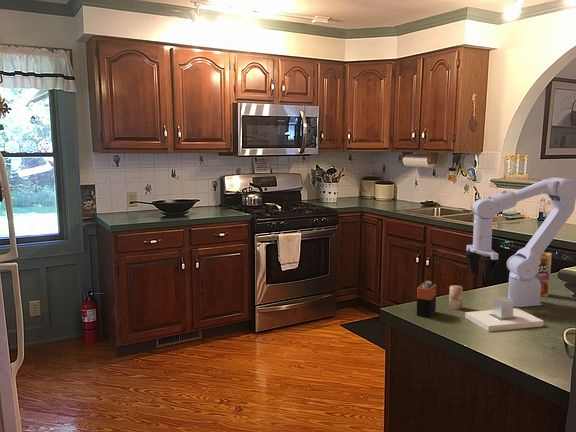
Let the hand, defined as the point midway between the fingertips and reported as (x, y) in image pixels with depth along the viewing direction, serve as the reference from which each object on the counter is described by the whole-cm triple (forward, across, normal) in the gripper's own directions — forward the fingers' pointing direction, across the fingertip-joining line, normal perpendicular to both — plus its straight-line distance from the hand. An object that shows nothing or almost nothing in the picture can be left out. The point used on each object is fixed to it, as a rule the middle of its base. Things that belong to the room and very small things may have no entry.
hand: (480, 276), depth 164 cm
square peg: (+9, +17, -4) cm, 20 cm away
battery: (+10, +5, -22) cm, 25 cm away
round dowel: (+9, +2, -10) cm, 14 cm away
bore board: (+9, +17, -4) cm, 20 cm away
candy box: (+10, -4, +25) cm, 27 cm away
